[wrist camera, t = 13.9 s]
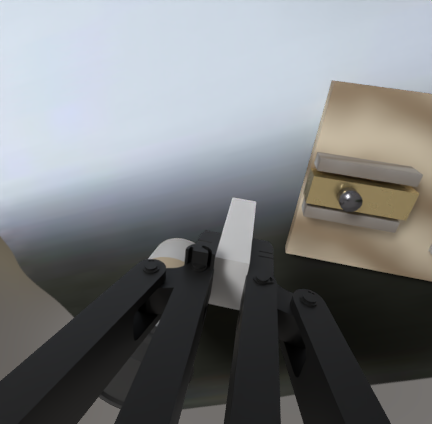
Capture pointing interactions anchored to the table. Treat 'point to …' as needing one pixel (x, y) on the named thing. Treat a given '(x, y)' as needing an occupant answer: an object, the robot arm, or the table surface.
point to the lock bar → (359, 194)
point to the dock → (376, 170)
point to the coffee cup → (119, 386)
